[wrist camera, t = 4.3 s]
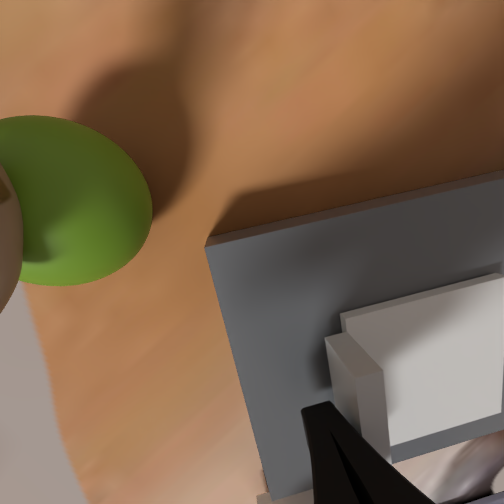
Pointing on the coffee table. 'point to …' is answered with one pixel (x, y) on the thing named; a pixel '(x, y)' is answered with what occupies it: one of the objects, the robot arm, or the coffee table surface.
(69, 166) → the snail figurine
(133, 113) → the coffee table surface
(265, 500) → the plug
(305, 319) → the socket plate
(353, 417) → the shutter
